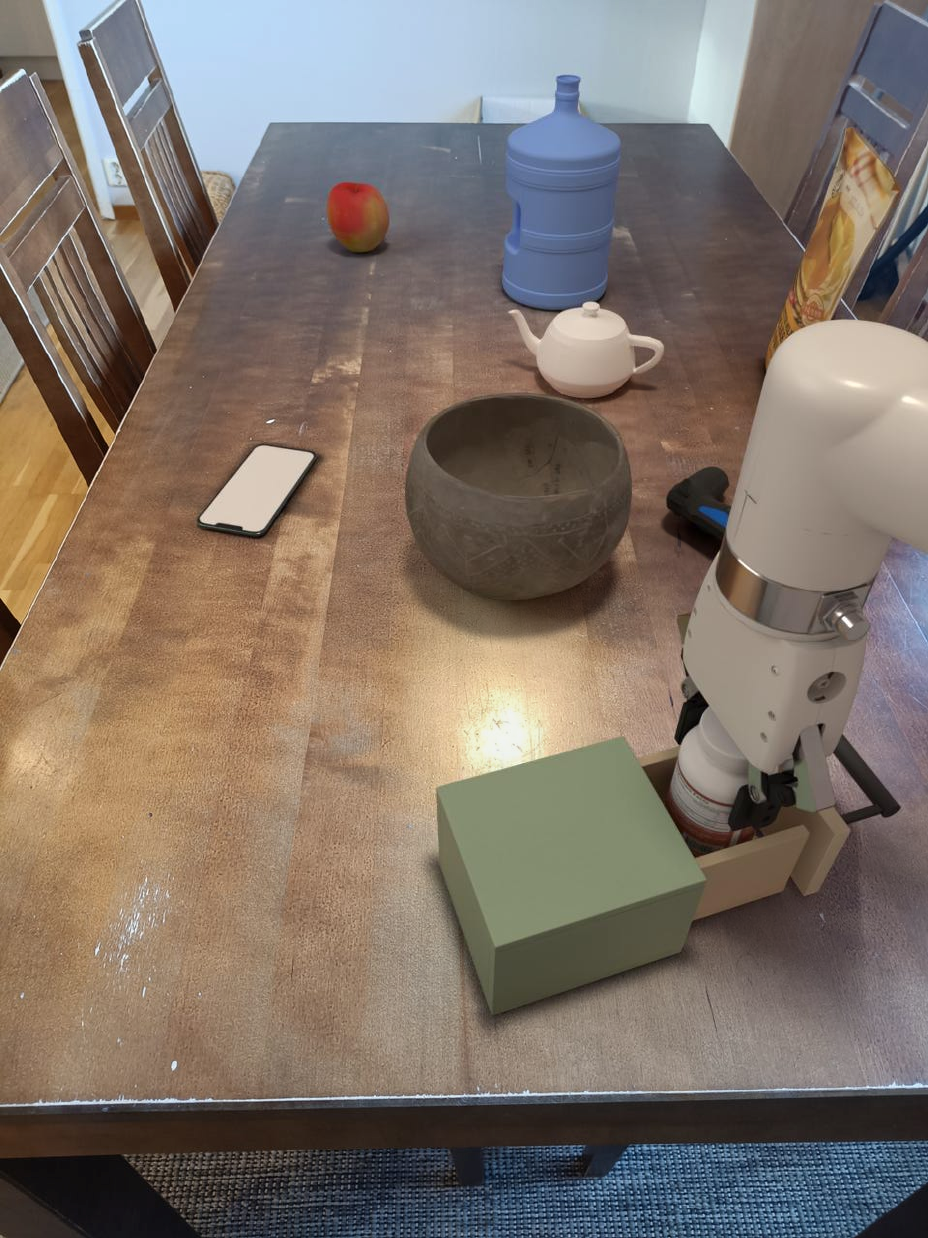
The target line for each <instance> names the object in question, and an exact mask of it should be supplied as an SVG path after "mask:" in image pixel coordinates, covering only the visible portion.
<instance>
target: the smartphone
mask: <svg viewBox="0 0 928 1238" xmlns="http://www.w3.org/2000/svg"><path fill="white" fill-rule="evenodd" d="M317 459H318V455H317V453H316V452H315V451H313V450H310V449H303V448H297V447H288V446H282V445H276V444H271V443H270V444H269V443H259V444H257V445H255V446H254V447H253V448H252V449H251V450H250V452H249V453H248V454H247V456H245V458H244V459H243V460H242V462H241V463H240V464H239V465H238V466H237V468H236V469H235V471H233V473H232V474H231V476H230V477H229V478H228V479H227V481H226V482H225V483H224V484H223V485H222V487H221V488H220V489H219V491H217V493H216V494H215V496H214V497H213V498H211V501H209V503H208V504H207V505H206V507H205V508H204V509H203V510H202V511H201V513H200V514H199V515H198V517H196V524H197V525H198V526H199V527H200V528H204V529H210V530H214V531H219V532H220V531H221V532H225V533H232V534H237V535H243V536H249V537H259V536H263V535H264V534H265V533H267V532H268V530H269V529H270V527H271V526H272V524H273V523H274V522H275V520H276V518H277V517H278V516H279V514H280V513H281V511H282V510H283V508H284V507H285V506H286V504H287V502H288V501H289V500H290V499H291V496H293V493H294V492H295V491H296V489H297V488H298V486H300V484H301V482H302V481H303V479H305V477H306V475H307V473H308V472H309V471H310V469H311V468H312V467H313V464H315V462H316V461H317Z"/></svg>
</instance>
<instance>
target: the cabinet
mask: <svg viewBox="0 0 928 1238" xmlns="http://www.w3.org/2000/svg"><path fill="white" fill-rule="evenodd" d="M637 758H638V757H637V756H636V754H635V753H634V751H633V749H632V747H631V745H630V743H629V742H628V741H627V739H626V737H625V736H624V735H622V736H618V737H614V738H611V739H607V740H604V741H601V742H600V741H599V742H596V743H593V744H588V745H585V746H581V747H578V748H574V749H571V750H567V751H563V752H560V753H555V754H552V755H549V756H544V757H542V758H537V759H535V760H531V761H527V762H524V763H520V764H515V765H513V766H509V767H505V768H501V769H498V770H494V771H490V772H487V773H482V774H479V775H476V776H471V777H468V778H465V779H460V780H457V781H454V782H450V783H446V784H442V785H439V786H437V787H435V790H436V791H435V799H436V800H435V801H436V821H437V841H438V842H437V843H438V844H437V845H438V862H439V867H440V871H441V872H442V873H441V874H442V875H443V879H444V881H445V885H446V888H447V891H448V893H449V895H450V898H451V902H452V904H453V907H454V911H455V913H456V916H457V919H458V923H459V925H460V927H461V930H462V934H463V937H464V939H465V942H466V945H467V948H468V950H469V954H470V957H471V959H472V962H473V965H474V968H475V971H476V973H477V977H478V980H479V982H480V985H481V989H482V991H483V993H484V994H483V995H484V997H485V1001H486V1003H487V1006H488V1008H489V1011H490V1015H491V1016H496V1015H498V1014H499V1015H500V1014H502V1013H505V1012H509V1011H511V1010H513V1009H517V1008H519V1007H523V1006H525V1005H528V1004H531V1003H534V1002H537V1001H540V1000H544V999H545V998H549V997H552V996H556V995H558V994H561V993H564V992H567V991H570V990H573V989H576V988H580V987H581V986H585V985H589V984H591V983H594V982H597V981H600V980H603V979H606V978H609V977H611V976H615V975H618V974H620V973H624V972H626V971H629V970H632V969H635V968H639V967H641V966H644V965H647V964H650V963H653V962H656V961H659V960H661V959H665V958H667V957H671V956H673V955H677V954H679V953H682V950H683V948H684V945H685V942H686V941H687V937H688V935H689V932H690V929H691V926H692V923H693V921H694V920H693V918H694V915H695V912H696V910H697V907H698V904H699V901H700V899H701V896H702V893H703V890H704V887H705V884H706V881H707V879H706V877H705V875H704V874H703V872H702V870H701V868H700V867H699V865H698V863H697V861H696V860H695V858H694V856H693V855H692V853H691V851H690V849H689V848H688V846H687V844H686V842H685V841H684V839H683V837H682V836H681V834H680V832H679V830H678V829H677V827H676V825H675V823H674V822H673V820H672V818H671V816H670V815H669V813H668V811H667V810H666V808H665V806H664V804H663V803H662V801H661V799H660V797H659V796H658V794H657V792H656V791H655V789H654V787H653V785H652V784H651V782H650V780H649V778H648V777H647V775H646V773H645V772H644V770H643V768H642V766H641V765H640V763H639V761H638V759H637Z"/></svg>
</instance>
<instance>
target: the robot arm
mask: <svg viewBox="0 0 928 1238" xmlns="http://www.w3.org/2000/svg"><path fill="white" fill-rule="evenodd" d="M765 372H766V371H765ZM730 506H731V510H730V514H729V518H728V522H727V526H726V529H725V533H724V537H723V541H721V545H720V549H719V551H718V552H717V554H716V555H715V557H714V559H713V561H712V563H711V564H710V566H709V568H708V570H707V572H706V574H705V577H704V578H703V581H702V583H701V587H700V588H699V590H698V593H697V596H696V599H695V601H694V604H693V607H692V611H690V612H686V613H682V614H678V615H677V617H676V623H677V628H678V631H679V637H680V641H681V642H680V643H681V645H683V647H682V648H681V651H680V658H681V661H682V665H683V670H684V674H685V678H684V679H683V680H682V681H681V683H680V691H681V694H682V696H683V698H684V699H685V700H686V701H684V702H682V706H681V709H680V713H679V718H678V722H677V724H676V729H675V732H674V736H673V739H674V741H675V742H676V744H677V745H678V746H681V743H682V741H683V739H684V737H685V736H686V735H687V733H688V732H689V731H690V730H691V729H693V728H694V727H695V726H697V725H698V724H699V722H700V720H701V717H702V714H703V713H704V711H705V710H706V709H707V708H708V707H709V706H710V707H711V709H712V710H713V712H714V713H715V715H716V716H717V718H718V719H719V720H720V722H721V723H722V725H723V726H724V728H725V729H726V731H727V732H728V733H729V735H730V736H731V738H732V739H733V741H734V742H735V743H736V745H737V746H738V748H739V749H740V750H741V752H742V753H743V754H744V756H745V757H746V758H747V760H748V784H747V785H744V786H742V787H740V788H739V790H738V793H737V796H736V798H735V801H734V804H733V807H732V809H731V812H730V815H729V818H728V825H729V827H730V828H731V830H732V831H738V830H741V829H744V828H748V827H751V826H752V827H753V829H756V830H760V828H764V827H766V826H769V825H770V824H772V823H773V822H774V821H775V820H776V818H777V816H778V813H779V811H780V809H781V806H783V807H790V806H794V807H797V809H801V810H804V811H808V812H812V813H815V812H818V811H821V810H825V809H828V808H831V807H834V808H835V806H836V803H837V802H836V798H835V797H836V796H835V793H834V788H833V784H832V779H831V773H830V771H829V766H828V762H827V758H829V757H831V756H832V755H833V752H834V750H835V748H836V746H837V744H838V742H839V740H840V738H841V735H842V734H844V731H845V728H846V726H847V722H848V719H849V717H850V714H851V710H852V709H853V705H854V702H855V699H856V695H857V692H858V689H859V685H860V681H861V677H862V672H863V668H864V664H865V663H864V662H865V657H866V650H867V641H868V640H867V639H868V632H869V630H870V628H871V622H870V621H869V620H868V619H867V617H865V616H864V607H865V605H866V602H867V600H868V598H869V595H870V593H871V591H872V588H873V586H874V583H875V582H876V579H877V576H878V574H879V572H880V570H881V567H882V565H883V562H884V560H885V558H886V555H887V553H888V550H889V548H890V546H891V543H892V541H893V540H894V539H896V540H897V541H900V542H902V543H904V544H906V545H909V546H910V547H912V548H914V549H917V550H918V551H920V552H922V553H924V554H926V555H928V341H927V340H925V339H924V338H922V337H920V336H918V335H916V334H914V333H912V332H910V331H908V330H905V329H902V328H900V327H897V326H893V325H889V324H885V323H881V322H875V321H871V320H870V321H869V320H863V319H835V320H830V321H823V322H819V323H815V324H812V325H809V326H807V327H804V328H801V329H799V330H797V331H796V332H794V333H792V334H791V335H790V336H789V337H787V338H786V339H785V340H784V341H783V342H782V343H781V344H780V346H779V347H778V348H777V350H776V351H775V353H774V355H773V357H772V358H771V360H770V363H769V366H768V369H767V372H766V373H765V375H764V379H763V382H762V387H761V390H760V394H759V398H758V403H757V406H756V409H755V413H754V418H753V421H752V425H751V429H750V433H749V436H748V440H747V444H746V449H745V451H744V456H743V460H742V464H741V467H740V472H739V476H738V481H737V485H736V489H735V492H734V496H733V500H732V503H731V505H730ZM780 764H781V773H775V774H771V773H772V772H773V771H774V770H775V768H776V766H777V765H780ZM768 774H771V775H768Z"/></svg>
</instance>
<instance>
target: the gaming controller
mask: <svg viewBox="0 0 928 1238" xmlns="http://www.w3.org/2000/svg"><path fill="white" fill-rule="evenodd" d="M729 487H730V480H729V477H728V474H727V473H726V471H724V470H723V469H722V468H720V467H718V466H706V467H703V468H701V469H699V470H698V471H696V472H695V473H693V474H691V475H690V476H688V477H686V478H684V479H683V480H681V482H678V483H676V484H674V485H673V486H672V487H671V489H670V490H668V493H667V495H666V497H665V503H666V508H667V509H668V510H669V511H670V512H672V514H674V515H675V516H676V517H681V518H682V519H684V520H686V521H689V522H692V523H694V524H695V525H697V526H696V527H697V528H698V529H699V530H701V531H702V532H704V533H707V534H710V535H712V536H713V537H715V538H716V539H718V540H719V541H721V542H722V541H723V537H724V533H725V529H726V526H727V522H728V518H729V514H730V510H731V506H732V505H729V504H727V503H724V502H721V501H719V500H720V499H721V498H722V496H723V495H724V494H725V493H726V491H727V489H728V488H729Z"/></svg>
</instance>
